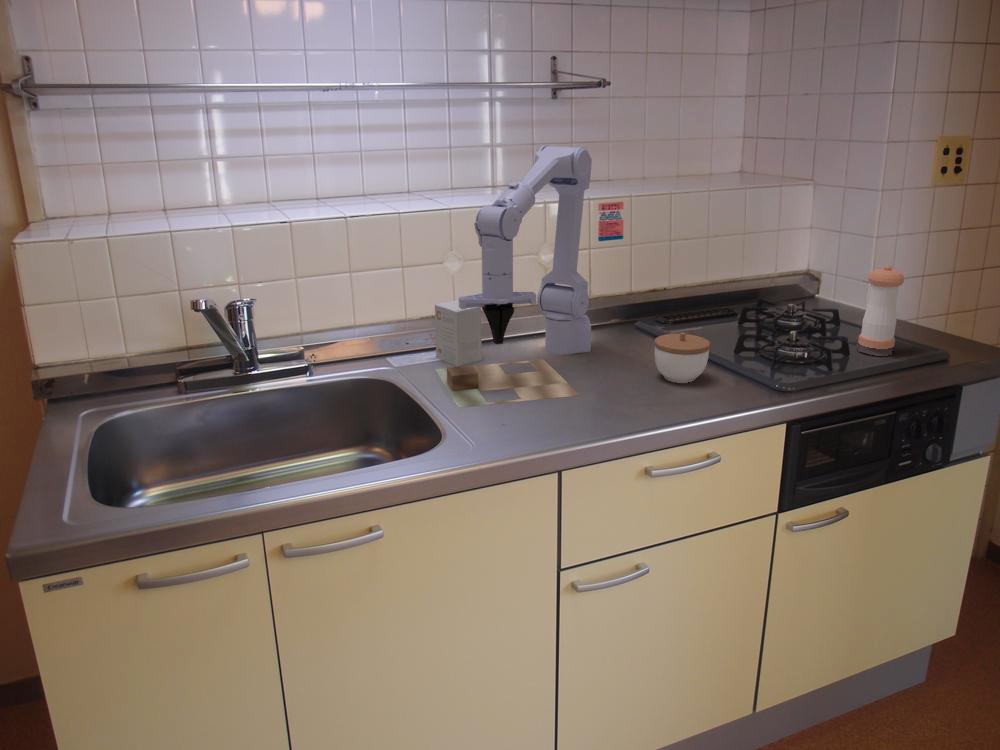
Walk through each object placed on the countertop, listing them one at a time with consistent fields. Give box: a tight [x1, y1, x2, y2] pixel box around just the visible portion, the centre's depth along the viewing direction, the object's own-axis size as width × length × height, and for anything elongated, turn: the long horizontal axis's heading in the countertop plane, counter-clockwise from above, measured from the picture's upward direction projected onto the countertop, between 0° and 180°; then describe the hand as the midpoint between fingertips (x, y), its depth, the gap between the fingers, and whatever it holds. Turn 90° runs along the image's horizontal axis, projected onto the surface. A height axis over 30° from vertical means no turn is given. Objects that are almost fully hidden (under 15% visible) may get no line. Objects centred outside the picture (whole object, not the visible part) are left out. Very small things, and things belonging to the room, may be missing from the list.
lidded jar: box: [654, 332, 711, 384], centre depth 162 cm, size 11×11×9 cm
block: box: [446, 365, 479, 391], centre depth 155 cm, size 5×5×3 cm
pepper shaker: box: [857, 265, 905, 349], centre depth 176 cm, size 7×7×19 cm
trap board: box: [434, 359, 581, 409], centre depth 158 cm, size 23×22×2 cm
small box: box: [434, 299, 483, 367], centre depth 170 cm, size 8×6×13 cm
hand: (498, 342), depth 155 cm, fingers closed
